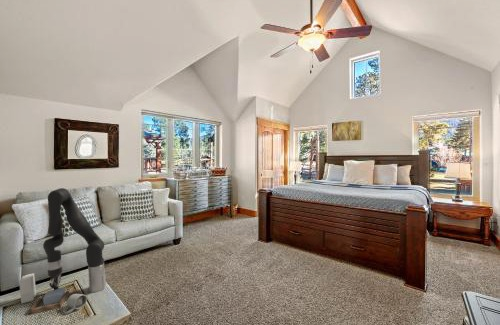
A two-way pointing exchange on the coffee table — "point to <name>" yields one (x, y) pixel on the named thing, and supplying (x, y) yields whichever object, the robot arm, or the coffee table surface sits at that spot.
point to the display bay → (48, 307)
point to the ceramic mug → (75, 302)
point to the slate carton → (54, 296)
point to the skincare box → (27, 288)
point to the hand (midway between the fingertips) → (56, 291)
